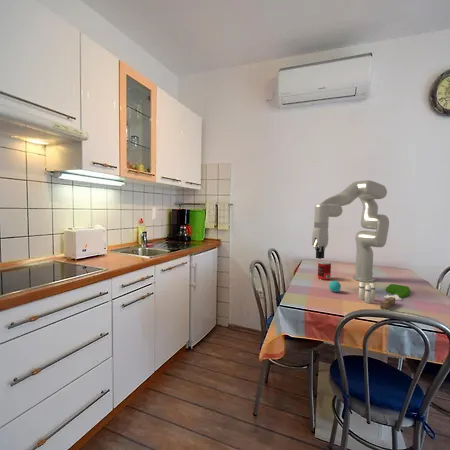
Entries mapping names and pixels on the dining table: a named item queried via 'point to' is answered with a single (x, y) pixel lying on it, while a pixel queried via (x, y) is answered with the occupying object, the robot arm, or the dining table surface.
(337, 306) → the dining table surface
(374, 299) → the back pin far
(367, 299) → the back pin near
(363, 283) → the front pin
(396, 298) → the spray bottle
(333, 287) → the ball
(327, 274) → the canned food
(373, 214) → the robot arm
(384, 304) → the brown wooden bar
